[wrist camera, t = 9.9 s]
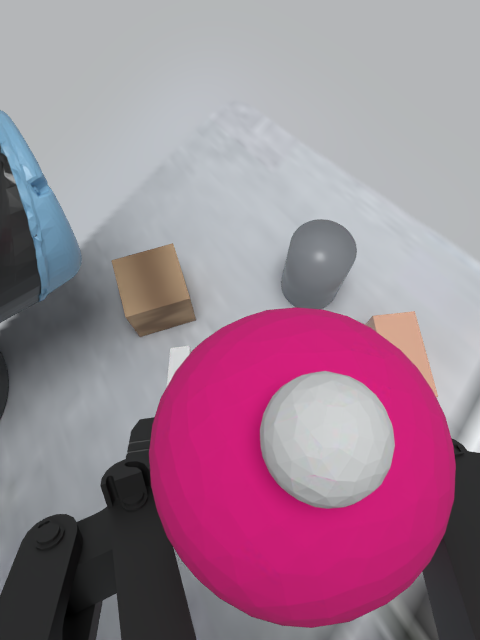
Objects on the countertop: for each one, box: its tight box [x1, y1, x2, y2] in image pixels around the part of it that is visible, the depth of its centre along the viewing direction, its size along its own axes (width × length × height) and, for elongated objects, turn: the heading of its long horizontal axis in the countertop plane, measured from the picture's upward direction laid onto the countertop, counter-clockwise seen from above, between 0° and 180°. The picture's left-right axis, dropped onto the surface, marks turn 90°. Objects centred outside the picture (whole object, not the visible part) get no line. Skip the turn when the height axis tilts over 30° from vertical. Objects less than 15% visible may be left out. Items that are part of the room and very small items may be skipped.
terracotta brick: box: [365, 311, 438, 397], centre depth 40 cm, size 4×8×5 cm, turn 7°
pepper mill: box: [149, 308, 456, 628], centre depth 14 cm, size 7×7×20 cm
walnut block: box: [112, 244, 196, 337], centre depth 42 cm, size 6×6×6 cm
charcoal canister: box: [281, 220, 357, 309], centre depth 42 cm, size 6×6×8 cm
